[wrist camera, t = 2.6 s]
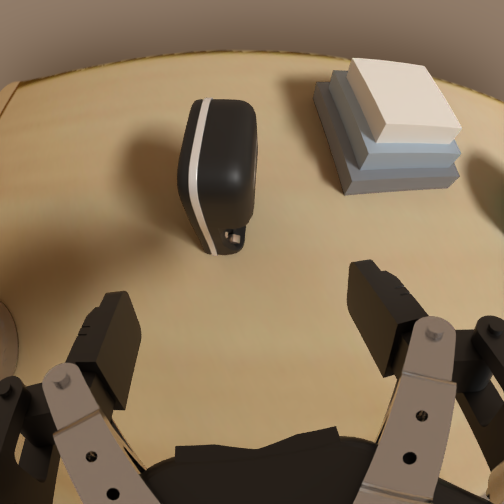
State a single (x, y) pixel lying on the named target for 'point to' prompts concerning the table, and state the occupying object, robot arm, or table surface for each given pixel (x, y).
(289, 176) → the table surface
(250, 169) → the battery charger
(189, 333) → the table surface
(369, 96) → the block tower
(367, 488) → the robot arm
